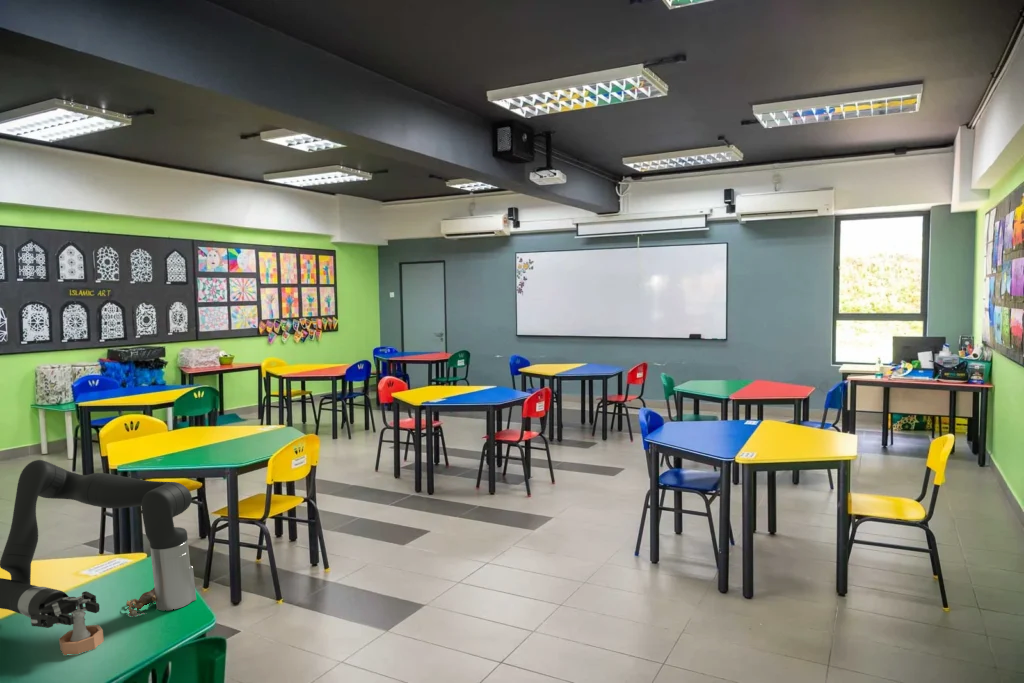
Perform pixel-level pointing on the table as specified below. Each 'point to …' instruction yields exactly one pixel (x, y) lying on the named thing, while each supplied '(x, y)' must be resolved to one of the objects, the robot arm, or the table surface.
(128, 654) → the table surface
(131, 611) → the frog figurine
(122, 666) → the table surface
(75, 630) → the rook chess piece
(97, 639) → the dish
